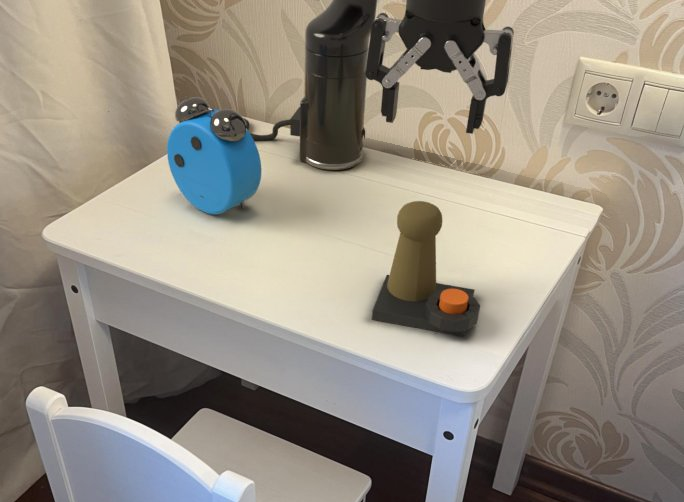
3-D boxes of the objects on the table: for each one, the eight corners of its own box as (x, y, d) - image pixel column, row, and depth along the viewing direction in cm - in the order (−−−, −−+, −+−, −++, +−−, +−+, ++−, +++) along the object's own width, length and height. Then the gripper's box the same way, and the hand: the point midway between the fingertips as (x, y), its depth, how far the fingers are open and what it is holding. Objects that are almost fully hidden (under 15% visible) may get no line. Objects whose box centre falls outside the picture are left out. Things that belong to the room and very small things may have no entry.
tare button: (436, 312, 95) (438, 301, 94) (441, 297, 98) (442, 286, 97) (464, 317, 95) (466, 306, 94) (468, 301, 97) (470, 291, 96)
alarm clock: (264, 213, 118) (262, 110, 108) (233, 230, 114) (228, 125, 104) (199, 184, 124) (192, 84, 114) (169, 199, 120) (158, 98, 110)
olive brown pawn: (391, 270, 104) (399, 191, 97) (439, 277, 103) (451, 198, 96) (382, 296, 100) (390, 216, 93) (432, 305, 99) (444, 223, 91)
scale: (369, 326, 98) (370, 305, 96) (385, 283, 104) (387, 263, 102) (472, 345, 95) (476, 324, 93) (482, 300, 102) (486, 279, 100)
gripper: (532, -45, 78) (501, 120, 89) (385, -59, 81) (372, 102, 92) (524, -23, 73) (492, 150, 84) (367, -38, 76) (356, 130, 87)
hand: (430, 125), depth 88 cm, fingers open, 8 cm apart
